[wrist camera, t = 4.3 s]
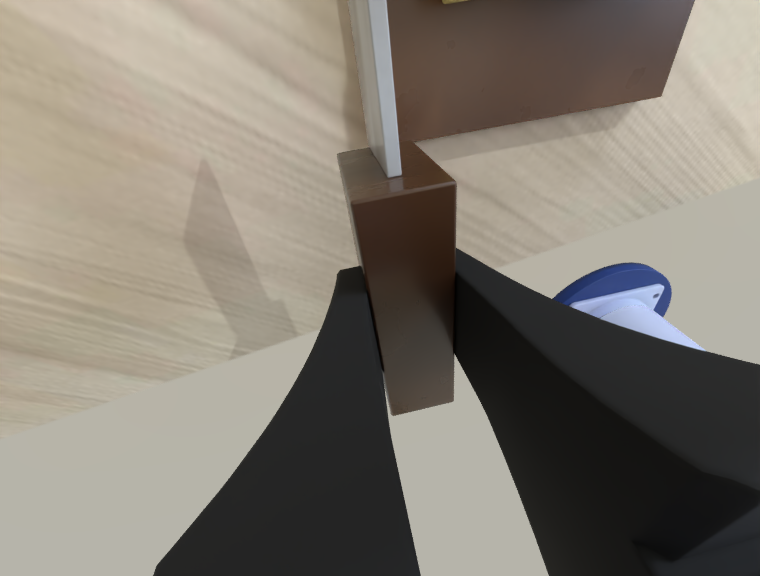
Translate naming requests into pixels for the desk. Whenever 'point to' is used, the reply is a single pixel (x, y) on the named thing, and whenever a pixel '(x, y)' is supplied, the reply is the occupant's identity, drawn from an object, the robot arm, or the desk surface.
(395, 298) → the knife
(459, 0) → the butter pat
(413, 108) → the butter board
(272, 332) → the desk surface
